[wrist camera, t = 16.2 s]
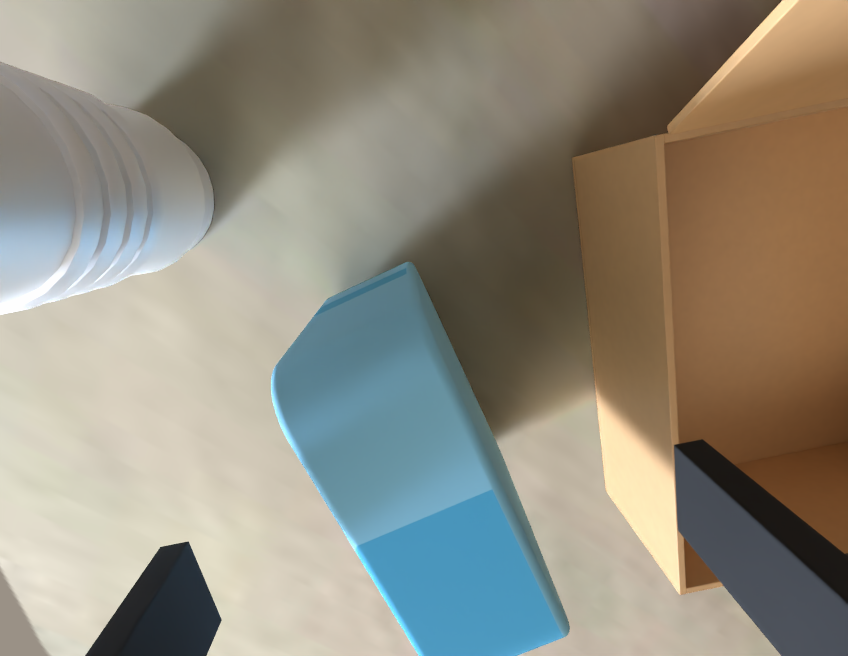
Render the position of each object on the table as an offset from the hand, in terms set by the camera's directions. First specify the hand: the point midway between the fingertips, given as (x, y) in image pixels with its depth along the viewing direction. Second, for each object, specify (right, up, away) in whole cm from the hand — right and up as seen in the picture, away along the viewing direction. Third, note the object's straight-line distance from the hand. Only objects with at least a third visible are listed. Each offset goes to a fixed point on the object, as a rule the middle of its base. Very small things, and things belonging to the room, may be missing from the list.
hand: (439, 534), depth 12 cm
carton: (+16, +6, +12) cm, 20 cm away
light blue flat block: (-1, +3, +12) cm, 12 cm away
